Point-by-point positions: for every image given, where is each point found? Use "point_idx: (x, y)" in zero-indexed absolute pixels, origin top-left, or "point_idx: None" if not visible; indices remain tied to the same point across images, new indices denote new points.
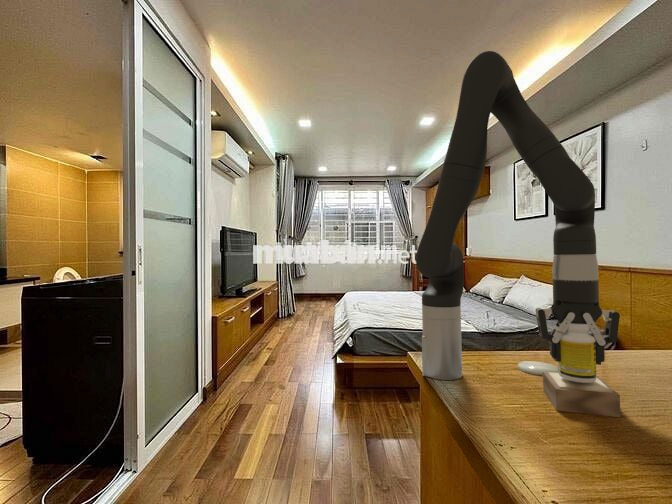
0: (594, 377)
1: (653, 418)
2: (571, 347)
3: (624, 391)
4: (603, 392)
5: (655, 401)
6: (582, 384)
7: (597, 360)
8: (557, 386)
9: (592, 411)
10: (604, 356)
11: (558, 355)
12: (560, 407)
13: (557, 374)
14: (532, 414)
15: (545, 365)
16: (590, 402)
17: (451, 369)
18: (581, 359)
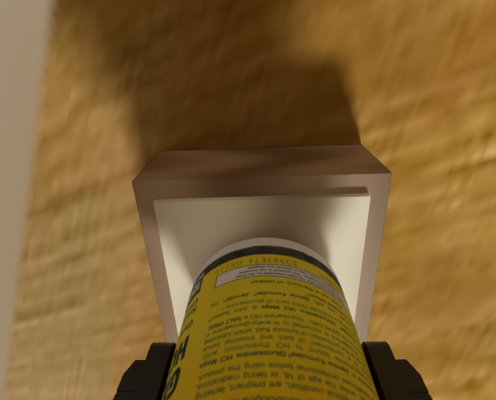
0: (204, 269)
1: (63, 178)
2: None
3: (107, 352)
4: (190, 192)
5: (40, 305)
6: None
7: (164, 360)
8: (369, 210)
9: (242, 152)
10: (116, 393)
11: (388, 371)
12: (350, 148)
13: None
14: (472, 74)
15: None
16: (247, 162)
17: None
18: (269, 322)
